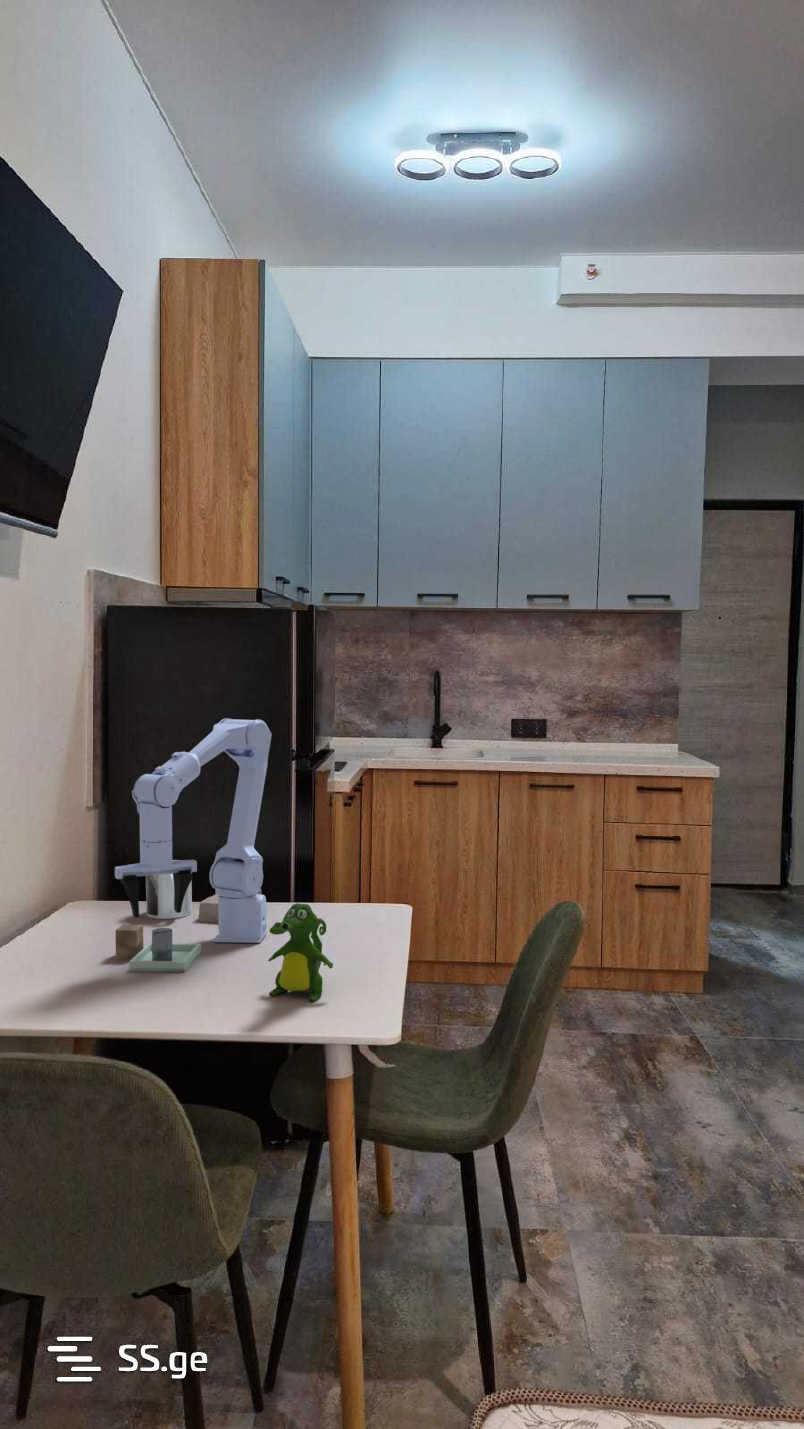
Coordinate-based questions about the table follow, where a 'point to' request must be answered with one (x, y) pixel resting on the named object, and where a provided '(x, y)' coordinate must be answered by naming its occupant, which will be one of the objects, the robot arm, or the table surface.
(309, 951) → the toy
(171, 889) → the mug
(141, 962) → the tray
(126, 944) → the block
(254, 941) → the robot arm
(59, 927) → the table surface
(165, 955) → the peg
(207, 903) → the brick
